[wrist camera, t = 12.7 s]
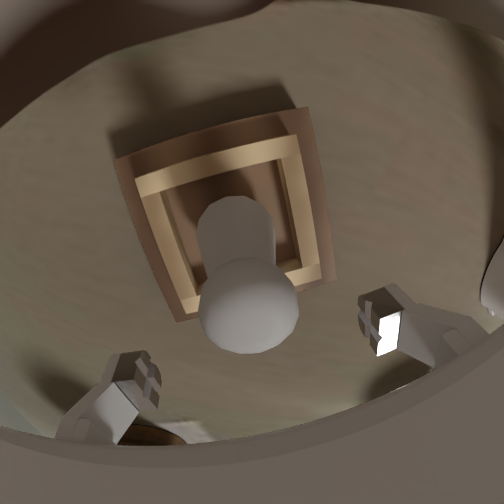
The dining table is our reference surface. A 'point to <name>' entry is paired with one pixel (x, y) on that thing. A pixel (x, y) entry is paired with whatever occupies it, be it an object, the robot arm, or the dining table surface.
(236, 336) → the salt shaker
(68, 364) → the dining table surface
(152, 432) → the wooden container
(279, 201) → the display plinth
